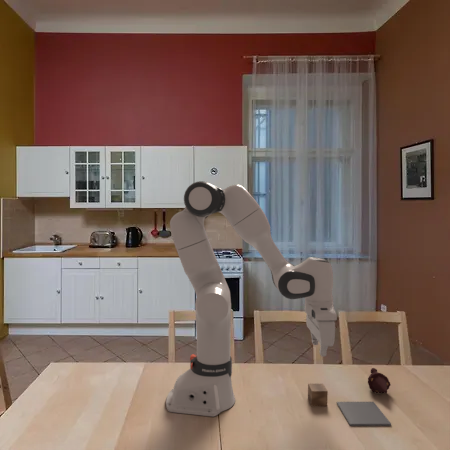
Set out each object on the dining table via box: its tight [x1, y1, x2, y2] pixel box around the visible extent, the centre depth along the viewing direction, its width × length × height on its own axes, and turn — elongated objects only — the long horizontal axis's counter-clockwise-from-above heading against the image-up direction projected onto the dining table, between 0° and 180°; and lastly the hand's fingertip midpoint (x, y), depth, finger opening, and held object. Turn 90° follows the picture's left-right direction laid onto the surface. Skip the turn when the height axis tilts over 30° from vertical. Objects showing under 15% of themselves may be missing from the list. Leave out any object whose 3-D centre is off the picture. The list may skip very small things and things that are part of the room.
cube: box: [307, 383, 329, 407], centre depth 116 cm, size 5×5×5 cm
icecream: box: [367, 367, 392, 394], centre depth 123 cm, size 7×7×15 cm
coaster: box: [336, 401, 392, 427], centre depth 109 cm, size 12×12×1 cm
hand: (318, 349), depth 115 cm, fingers open, 8 cm apart
